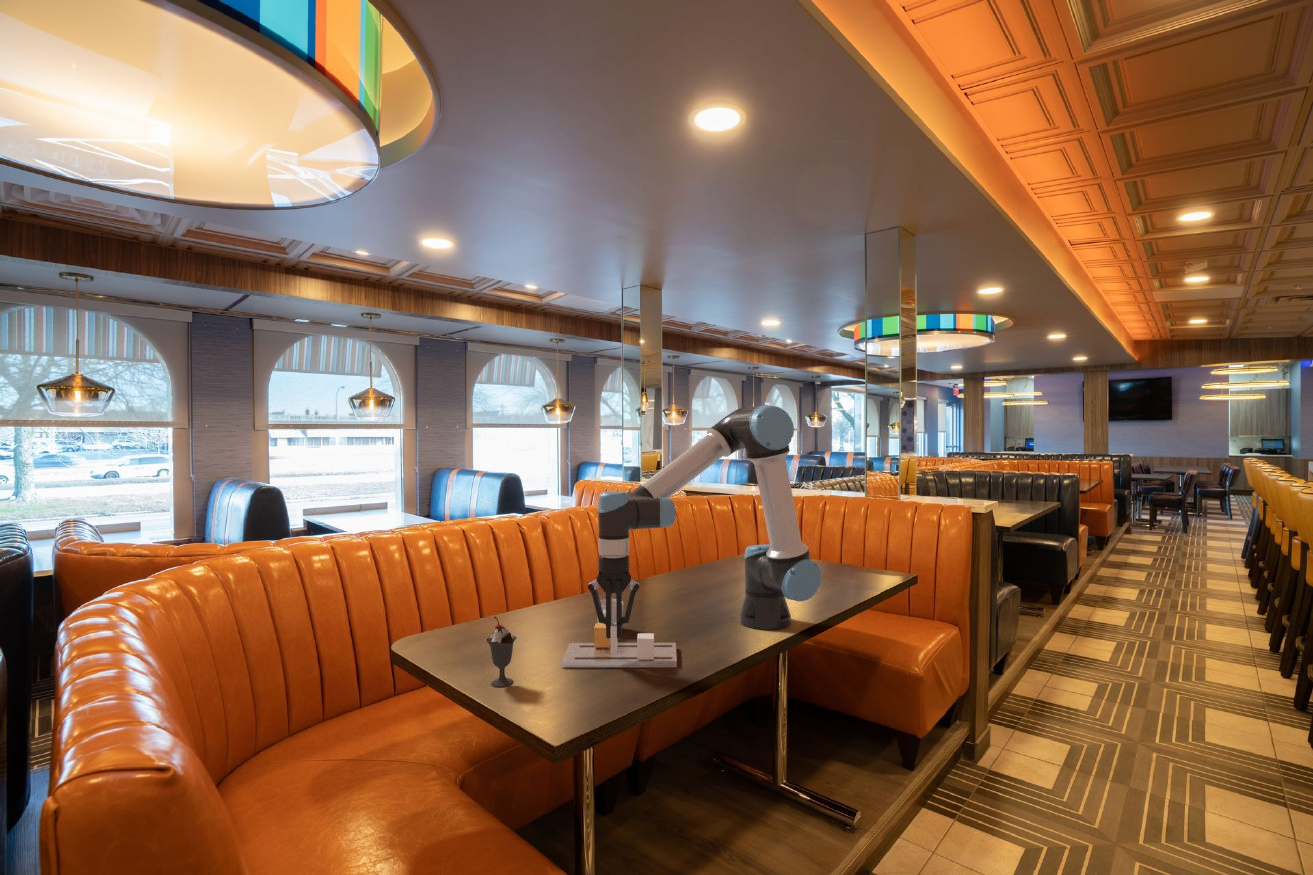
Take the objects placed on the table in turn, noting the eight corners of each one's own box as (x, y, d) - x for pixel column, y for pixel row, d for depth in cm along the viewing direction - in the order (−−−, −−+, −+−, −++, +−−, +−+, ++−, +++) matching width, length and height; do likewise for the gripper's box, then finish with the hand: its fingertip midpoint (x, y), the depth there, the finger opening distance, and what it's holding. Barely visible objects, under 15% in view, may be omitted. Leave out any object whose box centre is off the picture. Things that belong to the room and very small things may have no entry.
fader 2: (654, 653, 152) (653, 633, 152) (653, 659, 148) (653, 638, 148) (638, 653, 152) (637, 633, 152) (637, 659, 148) (637, 638, 148)
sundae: (489, 677, 142) (489, 613, 142) (518, 676, 143) (518, 612, 143) (484, 689, 136) (483, 622, 135) (514, 688, 136) (514, 621, 136)
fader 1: (611, 642, 160) (610, 623, 160) (609, 647, 156) (609, 627, 156) (595, 642, 160) (595, 623, 160) (594, 647, 156) (594, 627, 156)
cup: (617, 638, 169) (616, 609, 169) (589, 636, 170) (589, 608, 170) (626, 626, 179) (626, 599, 179) (600, 625, 181) (600, 598, 181)
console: (675, 648, 161) (675, 642, 161) (676, 667, 148) (676, 660, 148) (569, 648, 161) (569, 642, 161) (561, 667, 148) (561, 660, 148)
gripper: (640, 551, 153) (641, 645, 153) (589, 551, 153) (589, 645, 153) (639, 557, 146) (640, 656, 146) (585, 557, 146) (585, 656, 146)
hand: (614, 650), depth 150 cm, fingers closed
